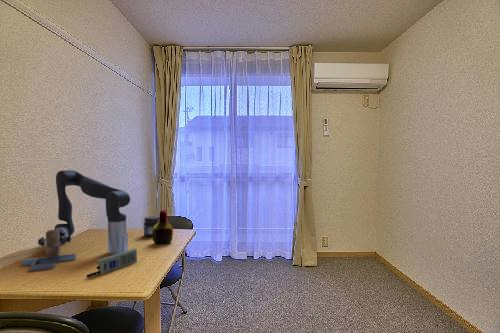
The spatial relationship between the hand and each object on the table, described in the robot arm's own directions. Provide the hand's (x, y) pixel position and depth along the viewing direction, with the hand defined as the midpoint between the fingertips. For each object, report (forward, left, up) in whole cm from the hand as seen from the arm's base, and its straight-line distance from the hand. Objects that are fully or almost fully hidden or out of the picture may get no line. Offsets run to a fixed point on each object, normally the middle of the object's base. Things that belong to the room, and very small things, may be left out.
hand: (52, 243), depth 153 cm
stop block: (0, -2, -8) cm, 8 cm away
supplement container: (-38, -45, -8) cm, 59 cm away
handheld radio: (-36, +17, -9) cm, 41 cm away
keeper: (-3, +9, -8) cm, 13 cm away
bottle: (-49, -26, -8) cm, 56 cm away
